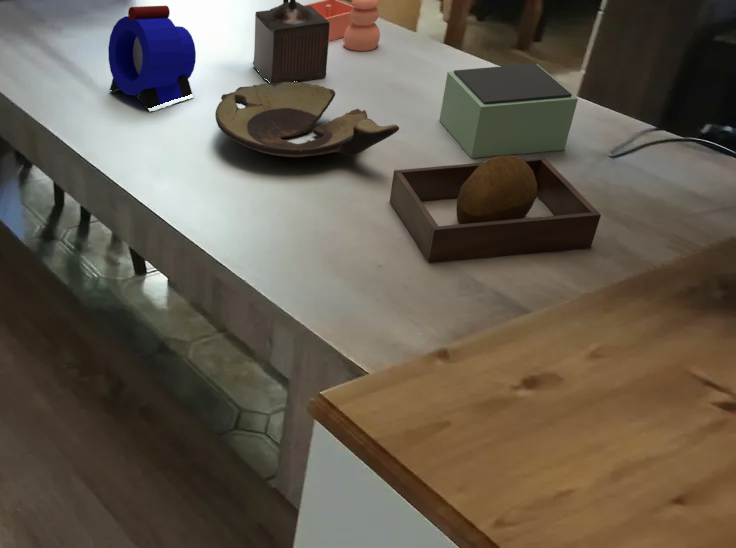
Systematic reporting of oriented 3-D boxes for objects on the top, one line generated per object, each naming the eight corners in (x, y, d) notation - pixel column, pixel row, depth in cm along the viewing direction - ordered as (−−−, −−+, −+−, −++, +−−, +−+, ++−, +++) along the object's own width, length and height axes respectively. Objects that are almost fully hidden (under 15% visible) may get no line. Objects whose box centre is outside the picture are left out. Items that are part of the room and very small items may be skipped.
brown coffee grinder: (305, 57, 170) (312, -51, 158) (327, 78, 161) (336, -35, 149) (223, 68, 168) (225, -41, 156) (242, 89, 160) (244, -24, 148)
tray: (591, 247, 115) (601, 214, 112) (428, 262, 115) (434, 229, 112) (536, 187, 128) (544, 156, 125) (389, 201, 127) (393, 170, 124)
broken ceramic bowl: (310, 102, 154) (314, 54, 149) (417, 172, 133) (426, 119, 128) (189, 129, 148) (188, 81, 143) (280, 207, 127) (283, 153, 122)
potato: (427, 220, 122) (438, 157, 117) (499, 199, 126) (513, 137, 120) (469, 248, 117) (483, 183, 111) (544, 225, 120) (561, 161, 114)
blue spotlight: (106, 93, 162) (99, 1, 152) (162, 75, 166) (160, -15, 156) (146, 113, 154) (142, 18, 144) (204, 94, 159) (204, 1, 149)
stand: (564, 150, 136) (579, 95, 131) (470, 158, 135) (481, 104, 130) (526, 113, 146) (538, 61, 141) (439, 120, 146) (448, 69, 141)
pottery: (292, 30, 181) (295, -24, 174) (330, 20, 184) (335, -34, 177) (351, 56, 169) (357, -2, 162) (391, 45, 172) (399, -12, 165)
